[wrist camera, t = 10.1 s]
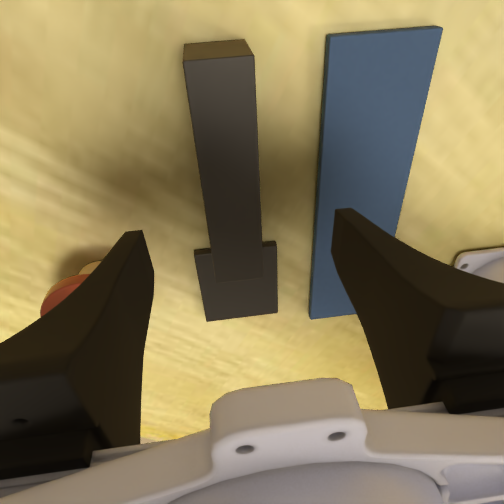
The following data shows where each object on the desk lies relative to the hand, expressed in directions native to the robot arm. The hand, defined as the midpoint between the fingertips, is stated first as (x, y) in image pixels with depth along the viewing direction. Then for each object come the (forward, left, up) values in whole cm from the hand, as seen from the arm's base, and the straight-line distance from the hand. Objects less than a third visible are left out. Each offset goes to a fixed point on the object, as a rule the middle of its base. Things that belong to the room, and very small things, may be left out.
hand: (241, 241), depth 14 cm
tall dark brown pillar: (-3, 0, -7) cm, 7 cm away
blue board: (-3, -7, -7) cm, 11 cm away
